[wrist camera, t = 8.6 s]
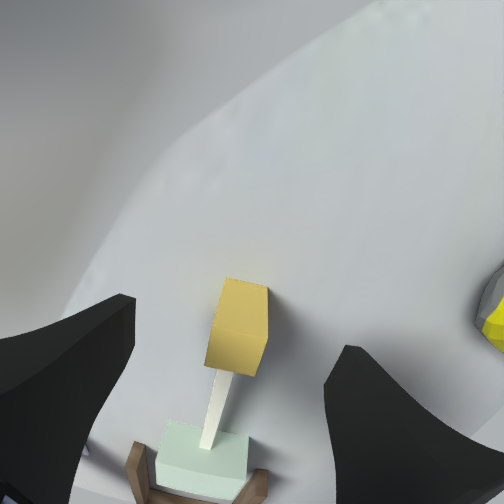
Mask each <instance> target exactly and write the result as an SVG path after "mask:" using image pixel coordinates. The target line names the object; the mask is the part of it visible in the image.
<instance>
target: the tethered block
mask: <svg viewBox="0 0 504 504" xmlns="http://www.w3.org/2000/svg"><path fill="white" fill-rule="evenodd" d="M267 340H268V290H267V287H265V286H261V285H257V284H252V283H248V282H244V281H239V280H235V279H231V278H227V277H226V279H225V282H224V286H223V289H222V292H221V296H220V299H219V303H218V306H217V310H216V314H215V317H214V321H213V324H212V328H211V333H210V338H209V343H208V348H207V353H206V358H205V363H204V366H207V367H211V368H216V369H217V373H216V377H215V381H214V385H213V390H212V394H211V398H210V402H209V406H208V411H207V415H206V419H205V423H204V428H202V427H198V426H194V425H190V424H186V423H182V422H178V421H174V420H171V419H168V422H167V425H166V428H165V431H164V434H163V438H162V441H161V444H160V447H159V451H158V454H157V457H156V460H155V466H156V481H157V484H158V485H161V486H165V487H168V488H172V489H176V490H180V491H185V492H189V493H194V494H199V495H204V496H209V497H215V498H221V499H228V500H233V498H234V497H235V495H236V494H237V493H238V491H239V490H240V488H241V487H242V485H243V484H244V483H245V481H246V472H247V457H248V442H249V436H244V435H238V434H232V433H227V432H222V431H217V427H218V424H219V421H220V417H221V414H222V411H223V408H224V404H225V401H226V398H227V394H228V391H229V388H230V384H231V381H232V377H233V374H234V373H239V374H244V375H249V376H254V377H255V374H256V371H257V368H258V366H259V363H260V360H261V357H262V354H263V351H264V349H265V346H266V343H267Z"/></svg>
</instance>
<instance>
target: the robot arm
mask: <svg viewBox="0 0 504 504" xmlns="http://www.w3.org/2000/svg"><path fill="white" fill-rule="evenodd" d="M135 309H136V298H133V297H130V296H126V295H123V294H117V295H115V296H113V297H110V298H108V299H106V300H104V301H102V302H100V303H98V304H96V305H94V306H92V307H89V308H87V309H85V310H83V311H81V312H79V313H77V314H75V315H72V316H70V317H68V318H65V319H63V320H60V321H58V322H56V323H53V324H51V325H48V326H46V327H43V328H40V329H37V330H34V331H31V332H28V333H24V334H21V335H17V336H13V337H8V338H4V339H0V504H68V502H69V498H70V494H71V488H72V485H73V481H74V477H75V474H76V470H77V467H78V464H79V461H80V458H81V455H82V454H83V455H85V456H88V455H89V452H88V450H87V448H86V445H85V443H86V441H87V438H88V436H89V433H90V430H91V428H92V426H93V423H94V421H95V419H96V417H97V415H98V413H99V412H100V410H101V408H102V406H103V405H104V403H105V401H106V399H107V398H108V396H109V394H110V393H111V391H112V389H113V388H114V386H115V384H116V383H117V381H118V379H119V377H120V376H121V374H122V372H123V371H124V369H125V367H126V365H127V362H128V360H129V358H130V355H131V353H132V351H133V348H134V346H135ZM324 402H325V413H326V418H327V423H328V429H329V434H330V439H331V444H332V450H333V455H334V461H335V469H336V504H485V503H487V502H488V501H489V500H491V499H492V498H494V497H495V496H496V495H498V494H499V493H500V492H502V491H503V490H504V453H503V452H499V451H497V450H494V449H491V448H488V447H486V446H484V445H482V444H479V443H477V442H475V441H473V440H471V439H469V438H467V437H465V436H464V435H462V434H460V433H459V432H457V431H455V430H454V429H452V428H451V427H449V426H447V425H446V424H445V423H443V422H442V421H440V420H439V419H438V418H436V417H435V416H434V415H432V414H431V413H430V412H429V411H427V410H426V409H425V408H424V407H422V406H421V405H420V404H419V403H418V402H417V401H416V400H415V399H413V398H412V397H411V396H410V395H409V394H408V393H407V392H406V391H405V390H404V389H403V388H402V387H401V386H400V385H399V384H398V383H397V382H396V381H395V380H394V379H393V378H392V377H391V376H390V375H389V374H388V373H387V372H386V371H385V370H384V369H383V368H382V367H381V366H380V365H379V364H378V363H377V362H376V361H375V360H374V359H373V358H372V357H371V356H370V355H369V354H368V353H367V352H366V351H365V350H364V349H362V348H361V347H358V346H350V345H345V347H344V349H343V351H342V353H341V354H340V356H339V358H338V360H337V362H336V364H335V366H334V368H333V370H332V371H331V373H330V375H329V377H328V379H327V381H326V382H325V384H324Z"/></svg>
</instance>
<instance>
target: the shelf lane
mask: <svg viewBox="0 0 504 504" xmlns="http://www.w3.org/2000/svg"><path fill="white" fill-rule="evenodd" d="M125 470H126V473H127V476H128V480H129V483H130V486H131V489H132V492H133V495H134V498H135V500H136V503H137V504H216V503H210V502H205V501H199V500H195V499H190V498H185V497H181V496H177V495H173V494H169V493H165V492H161V491H158V490H154V489H151V488H150V484H149V477H148V469H147V461H146V451H145V445H144V444H141V443H138V442H135V441H134V443H133V446H132V448H131V451H130V454H129V456H128V459H127V462H126V465H125ZM266 498H267V470H262V469H256V470H255V472H254V473H253V475H252V476H251V478H250V479H249V481H248V482H247V484H246V485H245V486H244V488H243V489H242V491H241V492H240V493H239V495H238V496H237V498H236V499H235V500H234V502H233V503H232V504H261V503H262V502H263V501H264V500H265V499H266Z"/></svg>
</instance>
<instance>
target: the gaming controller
mask: <svg viewBox="0 0 504 504" xmlns="http://www.w3.org/2000/svg"><path fill="white" fill-rule="evenodd" d="M475 326H476V327H477V328H478V329H479V330H480V332H481V333H482V334H483V335H484V336H485V337H486V338H487V339H488V340H489V341H490V342H491V343H492V344H493V345H494V346H495V347H496V348H498V349H499V350H500V351H501V352H502V353H504V265H503V267H502V268H501V269H500V270H499V271H497V272H496V273H495V274H494V275H493V276H492V278H491V280H490V281H489V283H488V285H487V287H486V289H485V290H484V292H483V294H482V298H481V302H480V306H479V310H478V313H477V317H476V320H475Z"/></svg>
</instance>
